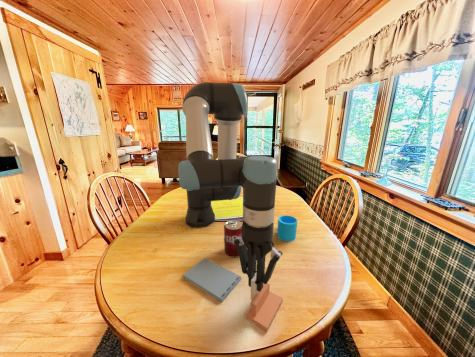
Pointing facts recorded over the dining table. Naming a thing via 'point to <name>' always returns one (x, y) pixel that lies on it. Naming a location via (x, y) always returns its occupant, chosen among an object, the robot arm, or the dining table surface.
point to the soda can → (232, 237)
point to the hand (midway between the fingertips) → (255, 297)
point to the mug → (287, 228)
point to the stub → (264, 307)
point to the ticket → (213, 279)
